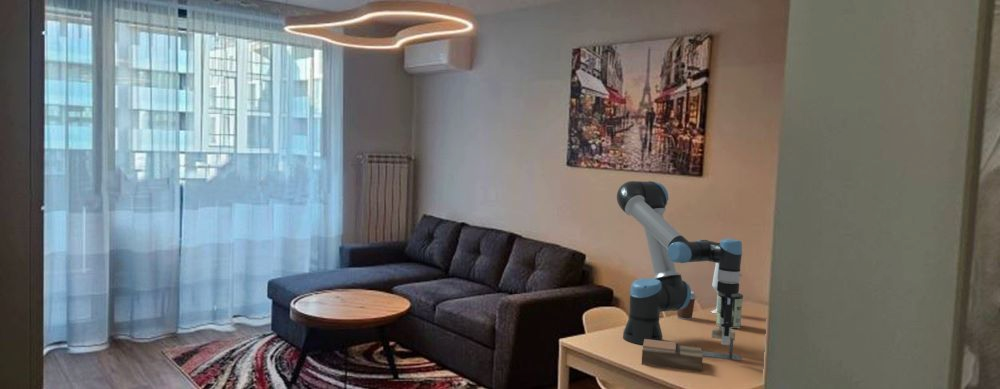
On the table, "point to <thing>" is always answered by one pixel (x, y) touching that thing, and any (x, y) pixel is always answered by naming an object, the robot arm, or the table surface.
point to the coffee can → (735, 310)
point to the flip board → (675, 358)
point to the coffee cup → (687, 309)
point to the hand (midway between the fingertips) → (724, 339)
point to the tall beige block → (718, 334)
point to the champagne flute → (715, 283)
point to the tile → (659, 345)
